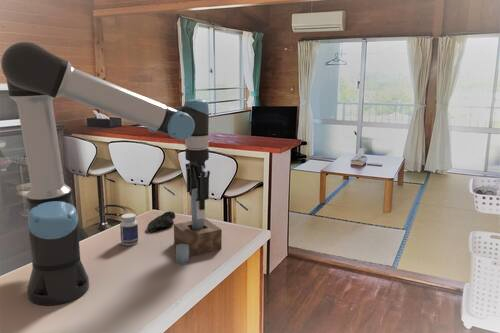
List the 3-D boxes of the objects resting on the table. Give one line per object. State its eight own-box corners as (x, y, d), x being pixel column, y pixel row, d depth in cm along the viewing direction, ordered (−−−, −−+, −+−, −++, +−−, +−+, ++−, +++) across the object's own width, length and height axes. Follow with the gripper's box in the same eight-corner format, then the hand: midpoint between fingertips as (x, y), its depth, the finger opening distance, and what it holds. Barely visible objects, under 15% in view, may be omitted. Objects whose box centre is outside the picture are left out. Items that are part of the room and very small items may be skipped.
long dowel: (195, 238, 142) (194, 192, 138) (190, 234, 145) (189, 188, 142) (205, 235, 144) (205, 190, 140) (200, 231, 147) (200, 187, 144)
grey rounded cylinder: (178, 265, 132) (178, 250, 130) (174, 259, 135) (174, 245, 134) (191, 262, 133) (190, 247, 132) (186, 257, 137) (186, 242, 136)
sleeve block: (188, 256, 137) (188, 236, 136) (174, 243, 147) (173, 224, 146) (221, 248, 144) (221, 229, 142) (205, 236, 154) (205, 218, 152)
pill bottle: (141, 242, 148) (140, 214, 145) (129, 247, 143) (127, 219, 141) (130, 238, 151) (129, 211, 148) (117, 243, 146) (116, 216, 144)
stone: (140, 230, 158) (140, 217, 157) (167, 220, 169) (167, 207, 168) (153, 235, 155) (152, 221, 153) (179, 224, 165) (179, 211, 164)
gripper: (219, 151, 133) (219, 222, 138) (196, 142, 147) (196, 207, 152) (198, 153, 129) (198, 226, 134) (175, 144, 143) (177, 210, 148)
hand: (197, 216), depth 143 cm, fingers closed on long dowel, 4 cm apart
